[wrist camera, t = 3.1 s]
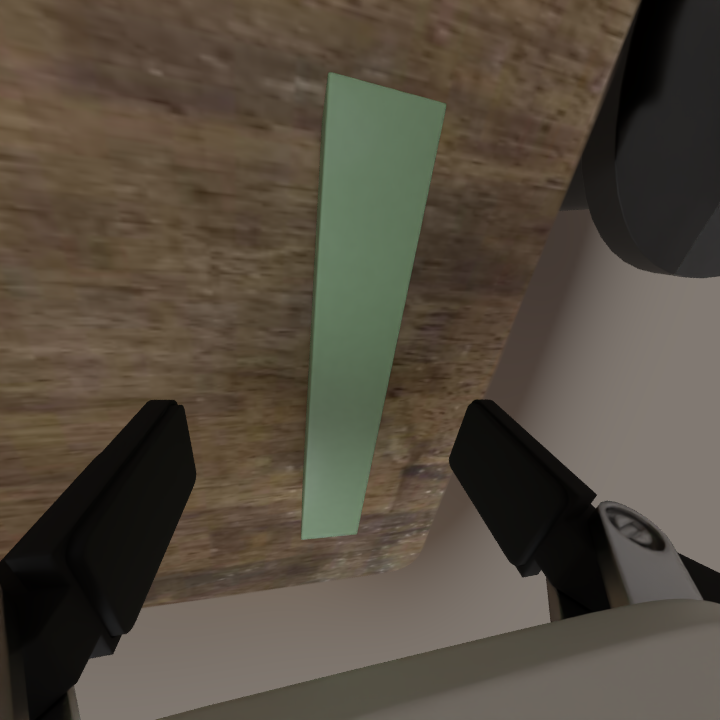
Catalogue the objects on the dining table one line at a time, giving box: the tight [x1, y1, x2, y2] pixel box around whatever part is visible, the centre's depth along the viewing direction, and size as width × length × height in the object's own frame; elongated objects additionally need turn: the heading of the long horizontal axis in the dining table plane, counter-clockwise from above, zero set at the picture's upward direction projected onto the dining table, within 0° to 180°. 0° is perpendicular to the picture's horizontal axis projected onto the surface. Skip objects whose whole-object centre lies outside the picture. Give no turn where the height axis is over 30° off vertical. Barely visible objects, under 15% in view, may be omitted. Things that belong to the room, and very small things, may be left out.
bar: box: [301, 72, 446, 540], centre depth 12 cm, size 3×18×4 cm, turn 172°
